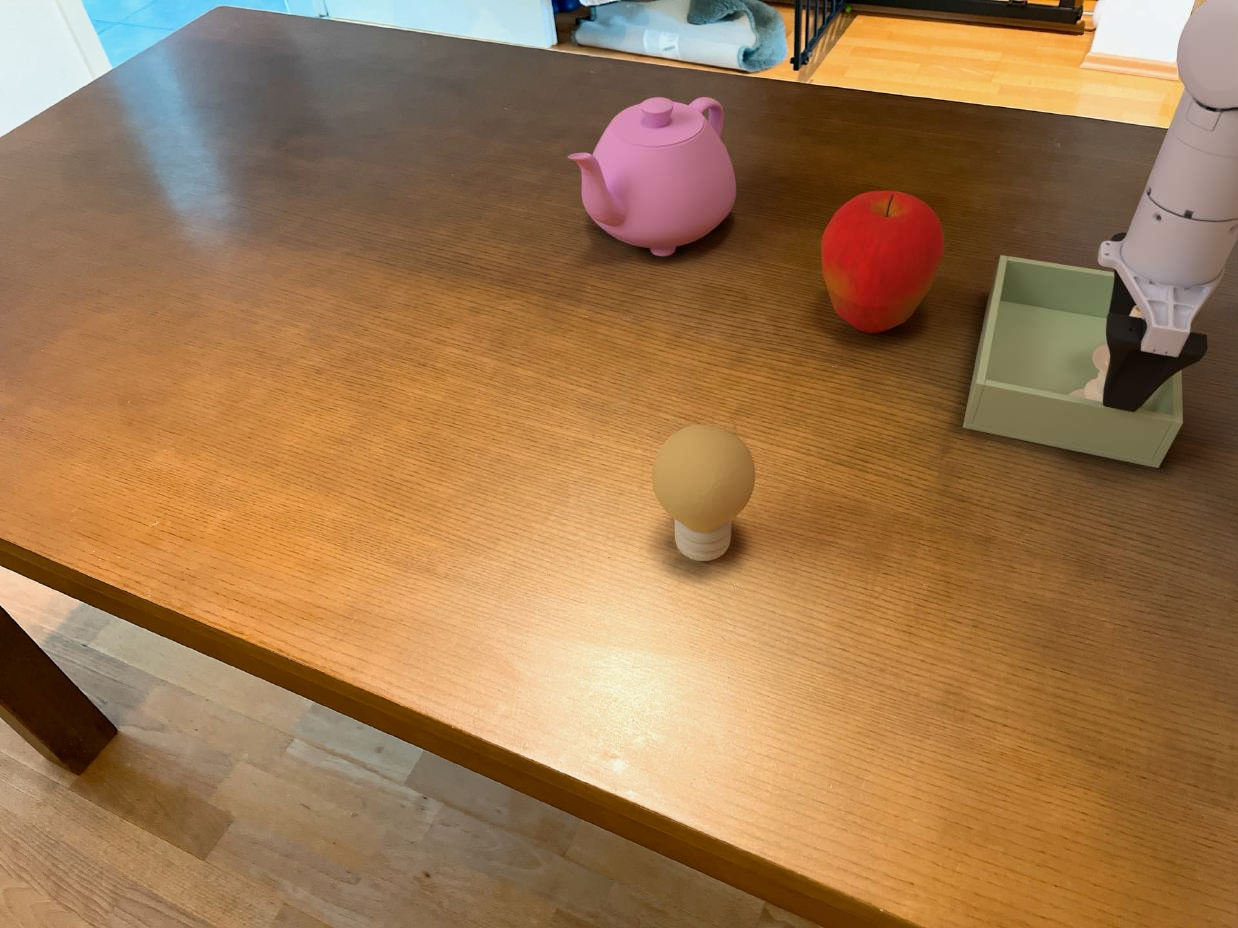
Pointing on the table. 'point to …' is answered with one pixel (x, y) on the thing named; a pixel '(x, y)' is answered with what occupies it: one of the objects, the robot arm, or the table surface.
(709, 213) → the teapot
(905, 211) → the apple
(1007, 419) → the open box
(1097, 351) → the candle
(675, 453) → the light bulb
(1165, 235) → the robot arm
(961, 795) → the table surface
